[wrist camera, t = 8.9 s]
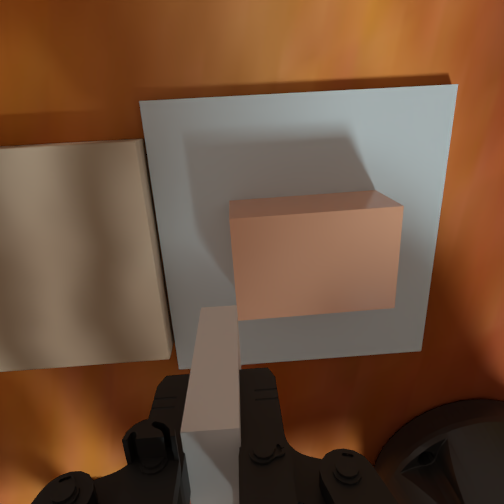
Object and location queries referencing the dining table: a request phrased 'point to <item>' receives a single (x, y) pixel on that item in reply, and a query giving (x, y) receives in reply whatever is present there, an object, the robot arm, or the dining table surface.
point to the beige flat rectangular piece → (79, 257)
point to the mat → (295, 184)
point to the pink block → (315, 253)
